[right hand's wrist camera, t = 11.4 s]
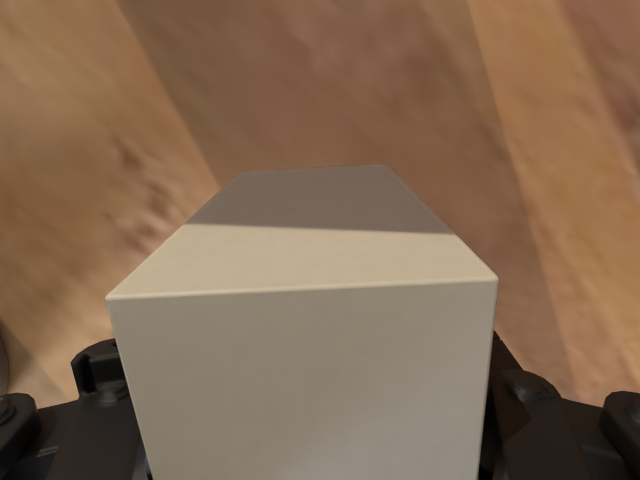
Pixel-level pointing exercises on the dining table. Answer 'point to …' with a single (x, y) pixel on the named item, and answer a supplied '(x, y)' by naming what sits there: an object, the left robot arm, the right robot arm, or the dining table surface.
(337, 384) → the beam
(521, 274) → the dining table surface
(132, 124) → the dining table surface
